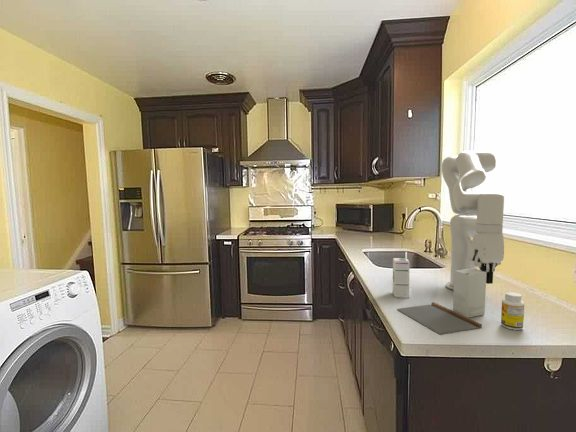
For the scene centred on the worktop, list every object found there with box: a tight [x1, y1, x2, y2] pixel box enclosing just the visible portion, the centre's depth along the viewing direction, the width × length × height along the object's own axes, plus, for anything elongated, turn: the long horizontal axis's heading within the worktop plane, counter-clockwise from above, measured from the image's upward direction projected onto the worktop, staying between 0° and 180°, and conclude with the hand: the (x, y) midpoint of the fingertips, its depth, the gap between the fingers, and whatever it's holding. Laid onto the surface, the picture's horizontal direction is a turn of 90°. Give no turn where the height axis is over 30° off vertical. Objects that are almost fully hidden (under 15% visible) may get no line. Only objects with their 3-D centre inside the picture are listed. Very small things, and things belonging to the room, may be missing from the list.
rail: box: [430, 301, 483, 329], centre depth 104 cm, size 1×20×1 cm, turn 17°
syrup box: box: [392, 257, 410, 299], centre depth 125 cm, size 6×6×14 cm
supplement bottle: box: [500, 291, 525, 331], centre depth 95 cm, size 6×6×10 cm
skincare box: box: [452, 268, 487, 318], centre depth 106 cm, size 8×6×15 cm
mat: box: [396, 304, 479, 335], centre depth 102 cm, size 14×20×1 cm
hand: (486, 282), depth 107 cm, fingers closed
